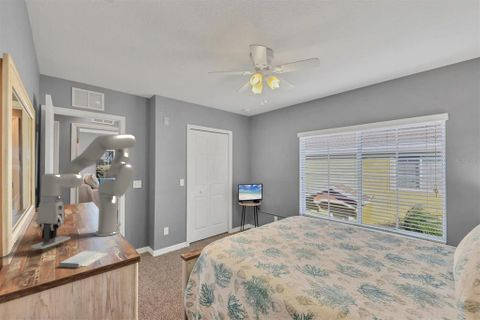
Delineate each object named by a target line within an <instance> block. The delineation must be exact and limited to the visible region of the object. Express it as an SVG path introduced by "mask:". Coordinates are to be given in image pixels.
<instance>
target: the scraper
mask: <svg viewBox="0 0 480 320" xmlns="http://www.w3.org/2000/svg"><path fill="white" fill-rule="evenodd" d="M54 226H55V225H54ZM50 230H51V224H44V238H43V239H42V241H41V242H38V243H35V244H33V245H30V249H42V250H43V249H47V248H49V247H52V246H55V245H58V244H59V243H64V242H66V241H68V240H71V236H65V235H63V236H62V235H60V236H59V235H58V236H56V238H53V239H49V231H50Z"/></svg>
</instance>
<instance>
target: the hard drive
mask: <svg viewBox="0 0 480 320" xmlns="http://www.w3.org/2000/svg"><path fill="white" fill-rule="evenodd" d="M100 253H101V250H99V251H98V250H96V251H95V250H83V251H81V252H78V253H77V254H75V255H73V256H70V257H69V258H67V259H64V260H62V261H60V262H59V263H58V267H61V268H62V267H63V268H80V267H83V266H82V265H83V264H85V263H87V262H88V261H90V260H92V259H93V258H95V257H97V256H98V255H100Z"/></svg>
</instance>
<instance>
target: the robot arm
mask: <svg viewBox="0 0 480 320" xmlns="http://www.w3.org/2000/svg"><path fill="white" fill-rule="evenodd" d="M136 144H137V139H136V137H135V136H134V135H133V134H130V133H127V134H104V135H98V136H97V137H95V138H94V139H93V141H91V142H90V144H89V145H87V147H86V148H85V149H84V150H83V151H82V153H80V154H79V155H77V156H76V157H75V158H74V159H72V160H71V161H70V162H68V163H67V164H66V165H65V166H64V167H63V168H62V169H61V170H60V171H59V172H57V173H45V174H42V176H41V185H40V186H41V189H40V202H39V205H38V209H37V213H36V214H37V215H36V222H35V224H36V225H38V226H39V227H40V230H41V239H42V240H43V238H44V224H51V230H50V231H49V239H53V238H56V237H58V236H57V235H58V234H57V233H58V232H57V231H58V229H59V228H60V227H61V226H63V225H64V221H65V206H64V202H63V196H62V193H63V188H64V189H66V188H67V189H75V188H78V187H80V186H81V185H82V184H83V183H84V179H83V176H82V175H81V174H79V173H81V172H82V171H83V170H85V169H87V168H89V167H90V168H91V166H94V165H96V164H97V163H98V162H99V160H101V158H102V157H103V156H104V155H105V153H106V152H107V151H113V150H114V156H113V159H112V162H111V163H110V166H109V168H108V171H107V174H108V176H109V177H110V178H113V179H104V180H102V181H100V183H99V184H98V187H97V192H98V193H97V194H98V221H97V223H98V224H97V230H96V231H94V235H95V236H97V237H108V236H114V235H116V234H119V233H120V231H121V230H120V229H119V228H118V227H120V226H121V225H122V223H121V222H118V210H119V209H118V205H119V204H118V203H119V201H118V198H119V197H121V198H122V197H123V196H125V194H126V193H127V191H128V189H129V188H130V186H131V182H132V179H133V177H134V175H135V174H134V173H135V169H134V166H132V164H130V162H129V161H130V159H131V153H130V151H129V149H131V148H134V147H135V146H136ZM54 225H55V226H54ZM117 230H118V231H119V233H118V231H117Z"/></svg>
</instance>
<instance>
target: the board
mask: <svg viewBox="0 0 480 320" xmlns="http://www.w3.org/2000/svg"><path fill="white" fill-rule="evenodd" d="M107 255H109V252H100V255H98V256H97V257H95V258H93V259H92V260H90V261H88V262H87V263H85V264H83V265H82V266H81V267H82V268H83V267H84V268H86V267H88V266H90V265H92V264H93V263H95V262H97V261H98V260H101V259H102V258H103V257H105V256H107Z"/></svg>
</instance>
